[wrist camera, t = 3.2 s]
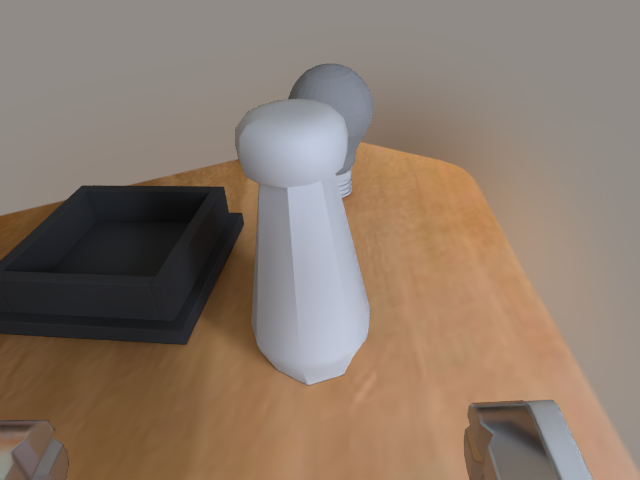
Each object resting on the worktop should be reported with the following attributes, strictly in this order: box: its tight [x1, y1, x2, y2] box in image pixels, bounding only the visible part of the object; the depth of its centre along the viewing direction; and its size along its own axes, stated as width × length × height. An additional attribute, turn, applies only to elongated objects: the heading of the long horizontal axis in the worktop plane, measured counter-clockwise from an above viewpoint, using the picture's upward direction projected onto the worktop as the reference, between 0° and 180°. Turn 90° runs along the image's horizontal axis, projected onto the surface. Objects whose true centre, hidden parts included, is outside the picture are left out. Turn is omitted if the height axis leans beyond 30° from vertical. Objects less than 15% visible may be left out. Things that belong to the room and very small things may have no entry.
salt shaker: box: [235, 99, 370, 385], centre depth 23 cm, size 6×6×13 cm
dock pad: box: [0, 186, 244, 344], centre depth 32 cm, size 12×12×4 cm
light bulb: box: [288, 64, 373, 198], centre depth 37 cm, size 6×6×10 cm
